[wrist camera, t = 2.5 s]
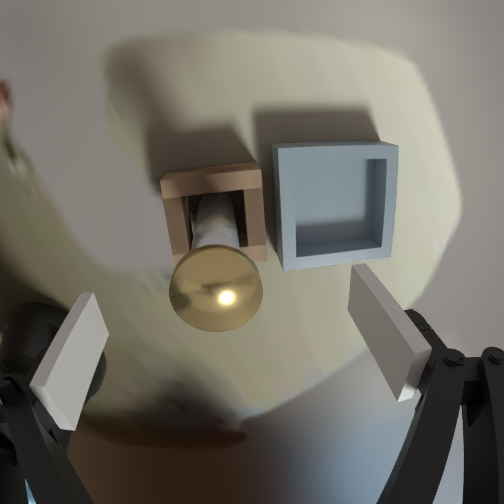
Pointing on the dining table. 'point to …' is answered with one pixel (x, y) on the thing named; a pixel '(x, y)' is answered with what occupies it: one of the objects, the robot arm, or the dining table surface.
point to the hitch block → (211, 181)
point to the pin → (215, 272)
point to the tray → (334, 201)
